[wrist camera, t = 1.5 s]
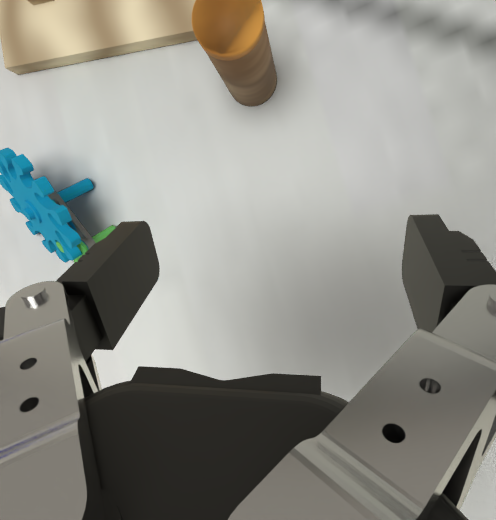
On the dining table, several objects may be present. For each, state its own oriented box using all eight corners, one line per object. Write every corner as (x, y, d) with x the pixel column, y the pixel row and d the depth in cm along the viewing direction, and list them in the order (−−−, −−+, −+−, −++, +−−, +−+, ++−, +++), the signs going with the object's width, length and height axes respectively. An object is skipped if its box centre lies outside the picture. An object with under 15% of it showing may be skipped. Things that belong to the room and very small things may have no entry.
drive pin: (274, 50, 31) (258, -30, 21) (279, 102, 31) (266, 47, 21) (225, 59, 31) (187, -15, 22) (230, 110, 32) (195, 60, 22)
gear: (-13, 187, 34) (-18, 129, 26) (48, 161, 38) (60, 102, 29) (66, 286, 36) (84, 260, 27) (118, 253, 39) (148, 220, 31)
